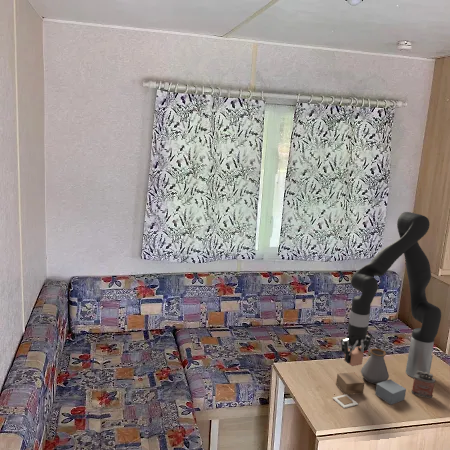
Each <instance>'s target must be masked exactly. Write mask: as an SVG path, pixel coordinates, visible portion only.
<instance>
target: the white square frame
mask: <svg viewBox="0 0 450 450" xmlns="http://www.w3.org/2000/svg"><path fill="white" fill-rule="evenodd" d="M331 399H333V400H334V401H335V402H336V403H337V404H338V405H340V407H342V408H343V409H347V408H350V407H355V406H358V405H359V403H358V402H357V401H356V400H355V399H353V398H352V397H350V395H349V394H348V395H347V394H342V395H338V396H333V397H332V398H331Z"/></svg>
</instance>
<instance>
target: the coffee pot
mask: <svg viewBox="0 0 450 450" xmlns="http://www.w3.org/2000/svg"><path fill="white" fill-rule="evenodd" d="M365 346H366V344H365ZM368 351H369V353H370V356H369V357H368V359H367V360H366V362H365V363H364V365H363V366H362V367H361V369H360V373H361V375H362V377H363V378H364V380H366V381H367V382H368V383H370V384H374V385H377V383H380V382H383V381H386V380H389V379H390V378H389V377H390V375H389V371H388V368H387V363H386V361H385V356H386V354H387V353H386V351H385V350H383V349H381V348H370V346H369V347H368Z"/></svg>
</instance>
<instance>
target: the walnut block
mask: <svg viewBox="0 0 450 450" xmlns="http://www.w3.org/2000/svg"><path fill="white" fill-rule="evenodd" d="M335 385H336V386H337V387H338V388H339V389H340V390H341V391H342V393H343V395H345V394H347V395H348V396H349V395H357V394H364V389H365V381H364V379H362V378H361V377H360V376H359V375H358V374H357V373H356V372H354V371H353V372H343V373H342V372H340V373H339V372H338V373H337V375H336V382H335Z"/></svg>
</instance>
